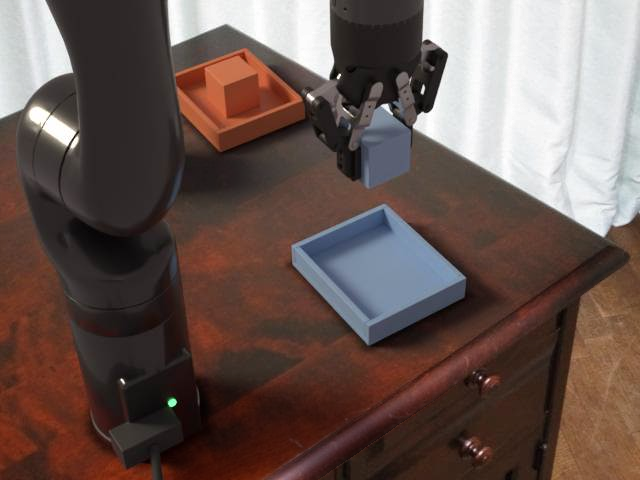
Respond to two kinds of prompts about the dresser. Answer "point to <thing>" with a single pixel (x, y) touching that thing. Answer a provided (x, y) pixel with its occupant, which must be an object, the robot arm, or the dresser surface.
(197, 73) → the clay tray
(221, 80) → the clay block
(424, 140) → the dresser surface
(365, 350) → the dresser surface
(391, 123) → the blue block
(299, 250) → the blue tray
